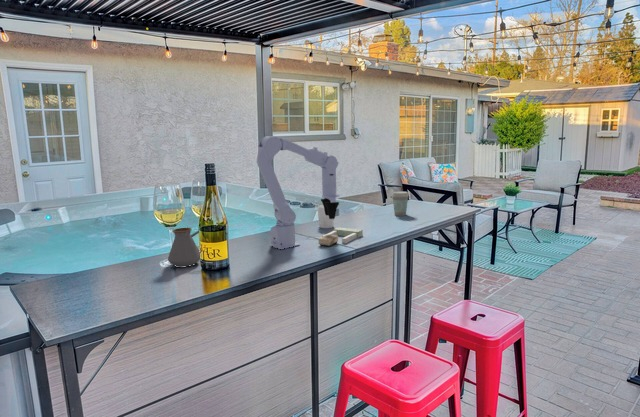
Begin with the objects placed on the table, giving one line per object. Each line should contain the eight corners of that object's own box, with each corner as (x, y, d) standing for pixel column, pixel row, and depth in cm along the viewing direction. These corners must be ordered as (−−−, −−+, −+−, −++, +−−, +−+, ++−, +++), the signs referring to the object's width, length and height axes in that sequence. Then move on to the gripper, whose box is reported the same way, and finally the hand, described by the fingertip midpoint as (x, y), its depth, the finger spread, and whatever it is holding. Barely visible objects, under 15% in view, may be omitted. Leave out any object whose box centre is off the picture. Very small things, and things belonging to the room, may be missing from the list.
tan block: (329, 247, 168) (329, 239, 167) (318, 245, 170) (318, 238, 170) (338, 243, 173) (338, 235, 173) (327, 241, 176) (327, 234, 176)
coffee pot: (175, 272, 145) (170, 229, 142) (164, 264, 154) (159, 223, 151) (232, 258, 158) (229, 219, 155) (219, 252, 167) (216, 214, 164)
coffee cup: (388, 214, 226) (388, 192, 223) (402, 212, 229) (402, 190, 227) (398, 217, 218) (398, 194, 216) (411, 215, 222) (412, 192, 219)
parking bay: (346, 243, 172) (346, 237, 172) (321, 240, 178) (321, 234, 178) (362, 235, 184) (362, 229, 184) (338, 232, 190) (338, 227, 190)
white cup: (315, 228, 201) (314, 207, 199) (322, 224, 208) (322, 204, 206) (330, 229, 198) (329, 208, 196) (337, 225, 204) (336, 205, 203)
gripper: (342, 186, 169) (343, 219, 171) (334, 182, 183) (335, 213, 185) (325, 187, 168) (326, 220, 170) (318, 182, 182) (319, 214, 184)
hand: (330, 216), depth 178 cm, fingers open, 7 cm apart
